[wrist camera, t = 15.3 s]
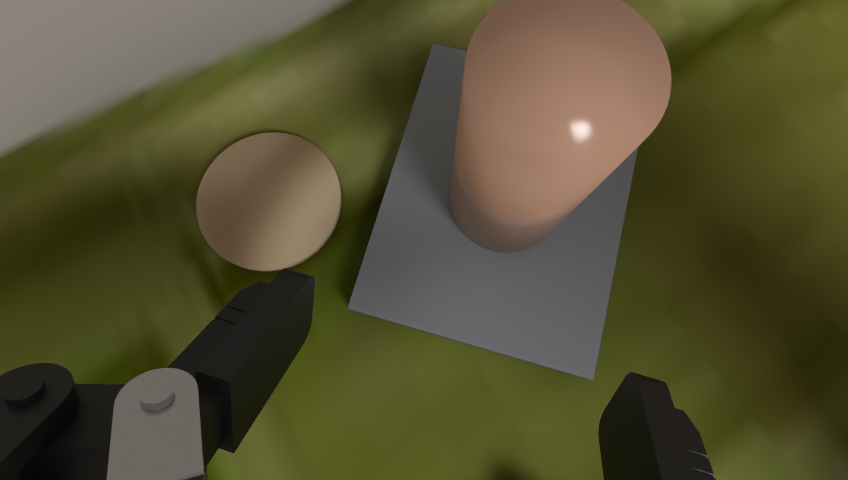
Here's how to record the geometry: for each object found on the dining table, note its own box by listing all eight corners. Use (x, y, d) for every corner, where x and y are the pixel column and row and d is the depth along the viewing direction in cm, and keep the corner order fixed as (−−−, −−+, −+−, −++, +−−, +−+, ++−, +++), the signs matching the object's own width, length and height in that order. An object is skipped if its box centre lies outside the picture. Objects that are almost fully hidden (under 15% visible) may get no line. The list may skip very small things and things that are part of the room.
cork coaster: (360, 156, 23) (358, 151, 23) (315, 288, 22) (312, 287, 21) (232, 123, 24) (227, 117, 23) (180, 249, 22) (173, 247, 22)
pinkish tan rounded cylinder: (571, 162, 22) (686, 9, 12) (547, 266, 20) (652, 189, 11) (465, 135, 22) (493, -35, 12) (435, 234, 21) (440, 134, 11)
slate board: (637, 107, 24) (648, 94, 22) (584, 378, 20) (593, 380, 19) (432, 57, 24) (433, 43, 23) (351, 310, 21) (347, 308, 20)
